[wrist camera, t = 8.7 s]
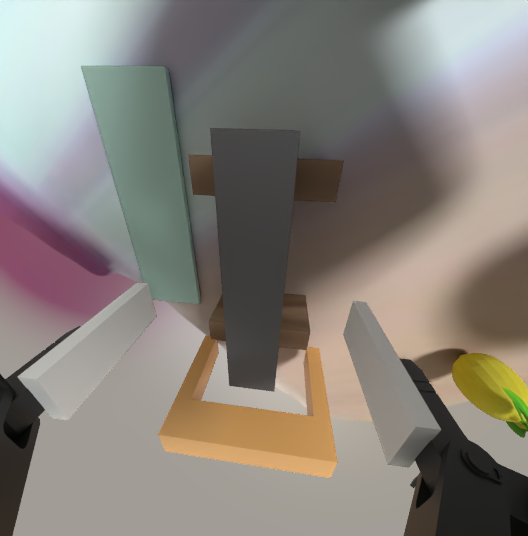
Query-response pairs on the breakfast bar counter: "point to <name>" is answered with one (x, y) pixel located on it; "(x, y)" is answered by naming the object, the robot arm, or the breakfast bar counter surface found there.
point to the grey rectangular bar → (253, 244)
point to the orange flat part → (252, 424)
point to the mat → (147, 173)
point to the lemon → (493, 389)
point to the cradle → (306, 189)
